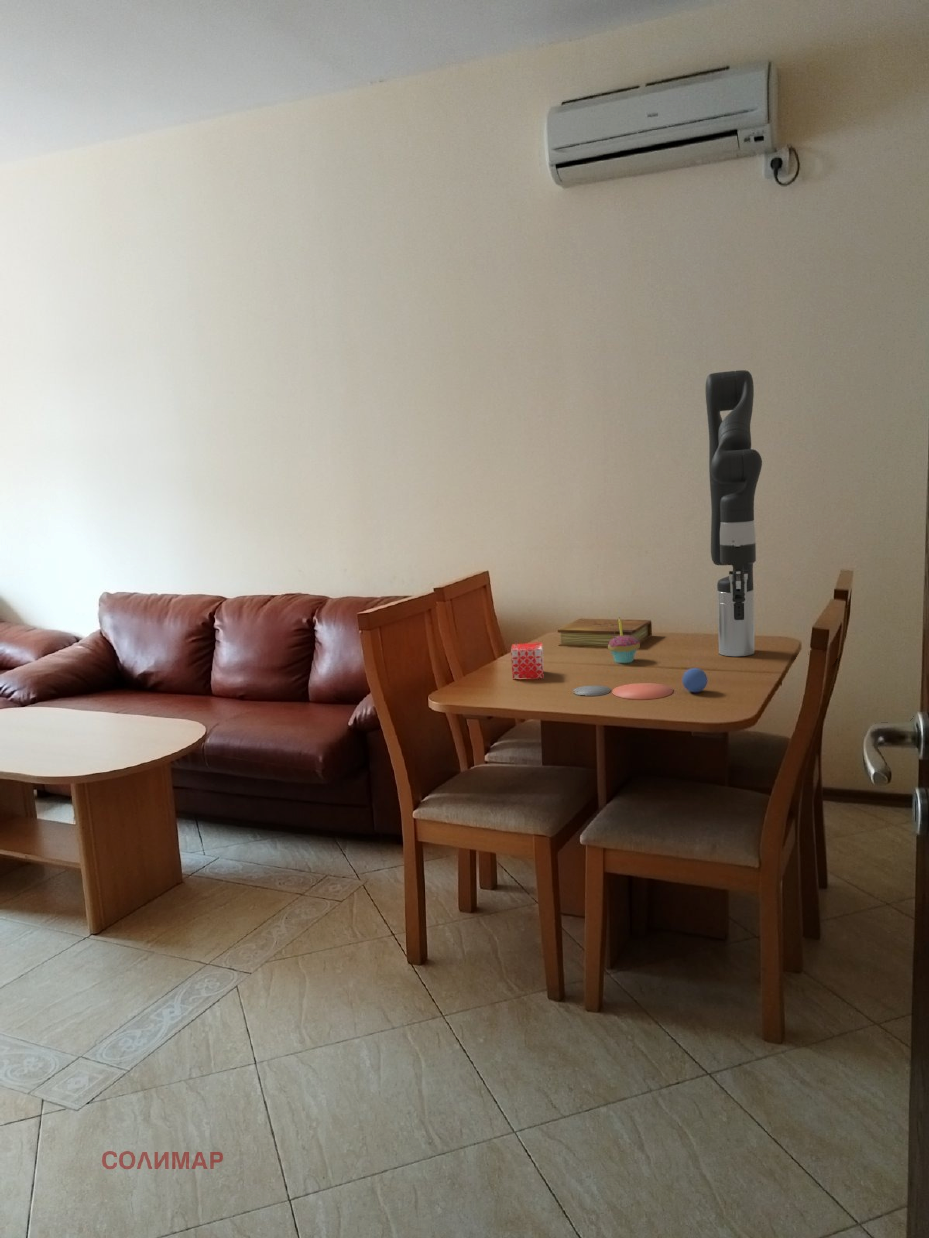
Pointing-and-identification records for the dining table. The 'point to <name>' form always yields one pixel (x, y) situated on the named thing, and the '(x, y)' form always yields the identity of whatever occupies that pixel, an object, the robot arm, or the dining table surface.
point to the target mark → (642, 691)
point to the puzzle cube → (527, 660)
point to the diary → (602, 632)
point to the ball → (694, 680)
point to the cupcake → (623, 647)
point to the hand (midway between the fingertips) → (739, 618)
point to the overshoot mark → (592, 690)
